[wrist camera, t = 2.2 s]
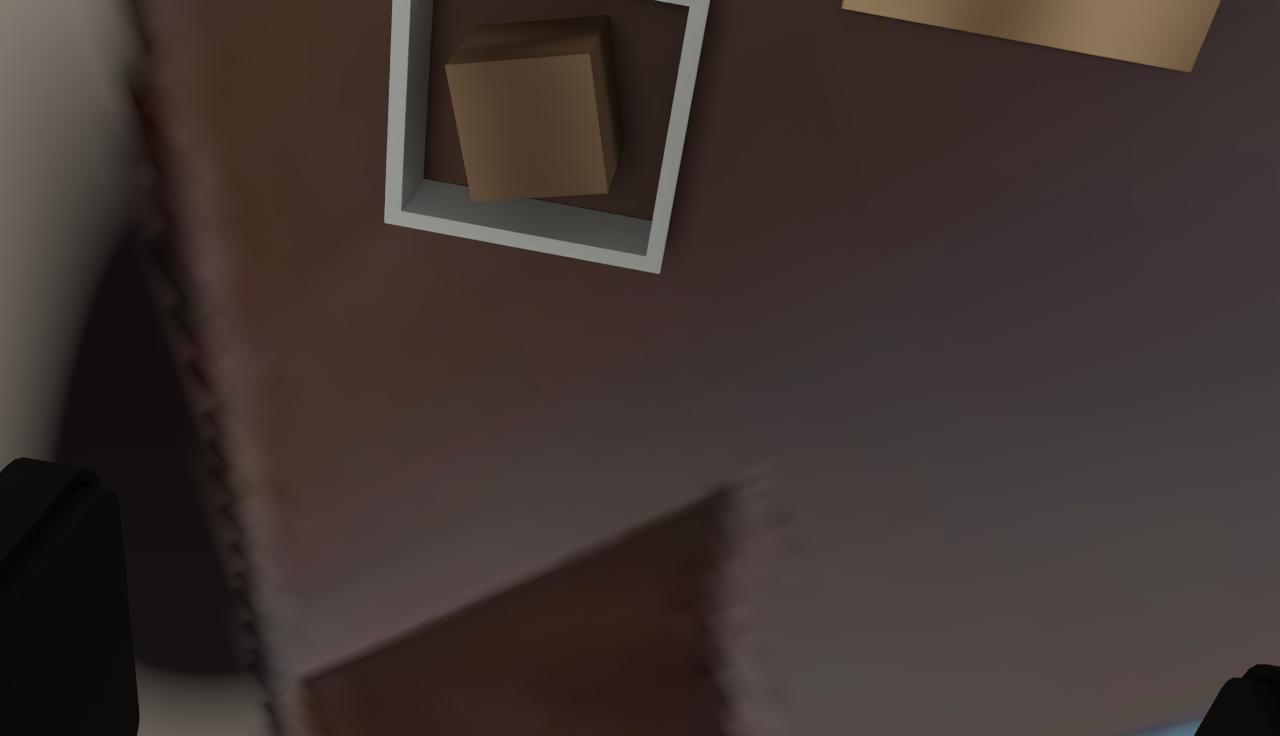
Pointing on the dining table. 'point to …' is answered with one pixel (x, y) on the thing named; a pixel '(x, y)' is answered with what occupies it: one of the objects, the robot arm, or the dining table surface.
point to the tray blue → (523, 218)
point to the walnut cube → (537, 108)
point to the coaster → (1072, 24)
